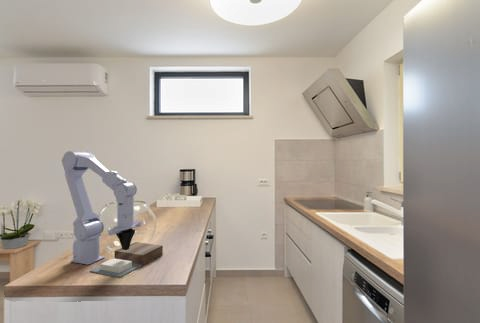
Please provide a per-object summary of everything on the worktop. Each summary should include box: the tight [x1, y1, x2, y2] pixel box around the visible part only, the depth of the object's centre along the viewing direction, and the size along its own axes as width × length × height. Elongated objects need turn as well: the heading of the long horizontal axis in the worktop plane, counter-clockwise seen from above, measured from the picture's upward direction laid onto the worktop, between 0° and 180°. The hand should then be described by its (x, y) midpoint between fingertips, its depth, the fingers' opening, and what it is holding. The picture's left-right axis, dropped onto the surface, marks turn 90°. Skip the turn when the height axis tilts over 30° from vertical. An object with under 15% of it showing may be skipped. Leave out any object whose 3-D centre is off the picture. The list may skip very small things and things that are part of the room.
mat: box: [89, 263, 143, 278], centre depth 97 cm, size 14×11×1 cm
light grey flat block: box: [99, 257, 132, 273], centre depth 97 cm, size 9×6×2 cm, turn 69°
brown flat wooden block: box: [113, 241, 164, 267], centre depth 108 cm, size 14×12×4 cm
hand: (125, 249), depth 101 cm, fingers closed
